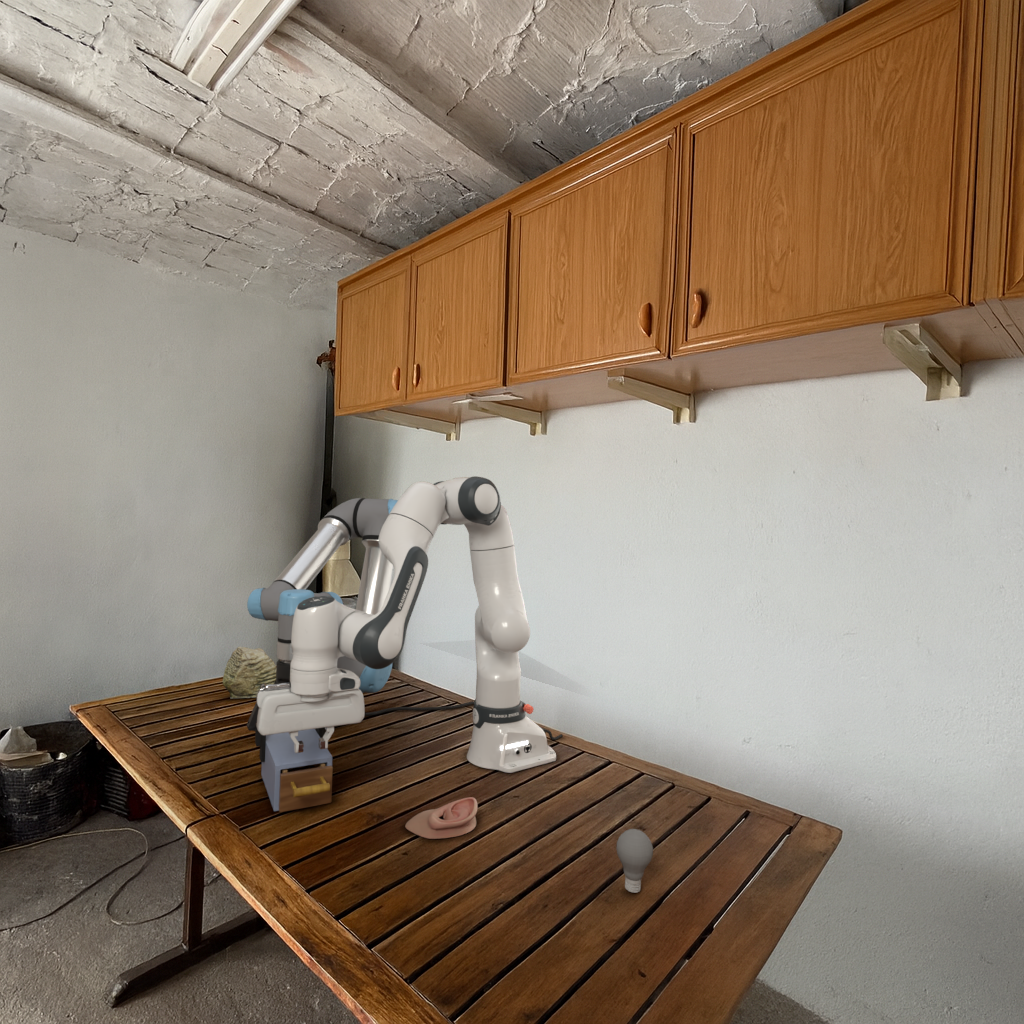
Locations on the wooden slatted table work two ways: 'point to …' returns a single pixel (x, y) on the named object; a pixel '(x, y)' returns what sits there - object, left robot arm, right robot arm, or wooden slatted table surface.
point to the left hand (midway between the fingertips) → (290, 755)
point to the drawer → (305, 786)
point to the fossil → (248, 672)
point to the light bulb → (634, 857)
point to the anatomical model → (445, 820)
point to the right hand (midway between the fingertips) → (310, 749)
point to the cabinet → (289, 758)
